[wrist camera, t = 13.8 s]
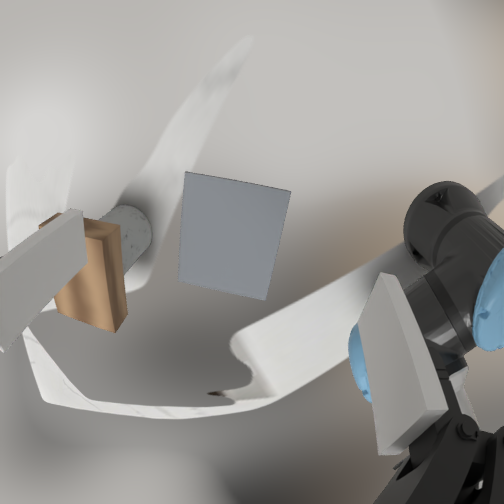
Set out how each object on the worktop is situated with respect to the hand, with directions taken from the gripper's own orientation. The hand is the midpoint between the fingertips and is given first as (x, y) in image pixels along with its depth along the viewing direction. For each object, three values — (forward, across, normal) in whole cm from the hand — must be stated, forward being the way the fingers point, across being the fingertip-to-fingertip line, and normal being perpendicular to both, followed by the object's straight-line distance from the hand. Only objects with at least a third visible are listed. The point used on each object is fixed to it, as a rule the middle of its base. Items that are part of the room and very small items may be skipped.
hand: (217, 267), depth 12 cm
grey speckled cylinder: (+33, +22, +18) cm, 43 cm away
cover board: (+20, +22, +18) cm, 35 cm away
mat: (+33, +4, +16) cm, 37 cm away
